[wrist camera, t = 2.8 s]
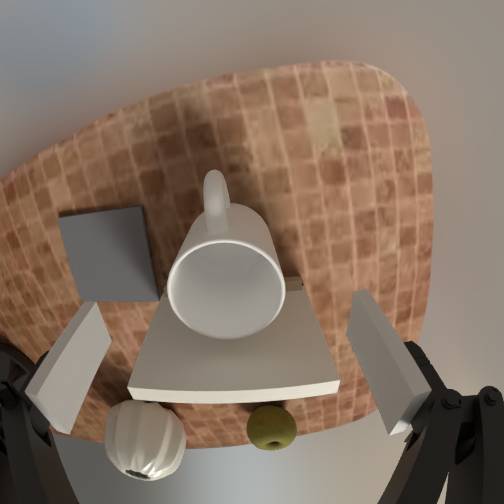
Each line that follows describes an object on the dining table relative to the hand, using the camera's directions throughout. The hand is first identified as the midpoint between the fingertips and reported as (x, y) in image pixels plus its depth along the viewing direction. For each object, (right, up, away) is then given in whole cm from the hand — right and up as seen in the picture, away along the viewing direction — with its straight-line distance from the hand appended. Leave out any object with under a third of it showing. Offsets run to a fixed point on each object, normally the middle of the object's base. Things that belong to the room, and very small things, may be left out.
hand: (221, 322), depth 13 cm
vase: (-17, -25, +28) cm, 41 cm away
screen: (-1, -1, +18) cm, 18 cm away
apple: (+4, -23, +28) cm, 36 cm away
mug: (-1, +6, +15) cm, 16 cm away
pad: (-15, +3, +15) cm, 22 cm away
